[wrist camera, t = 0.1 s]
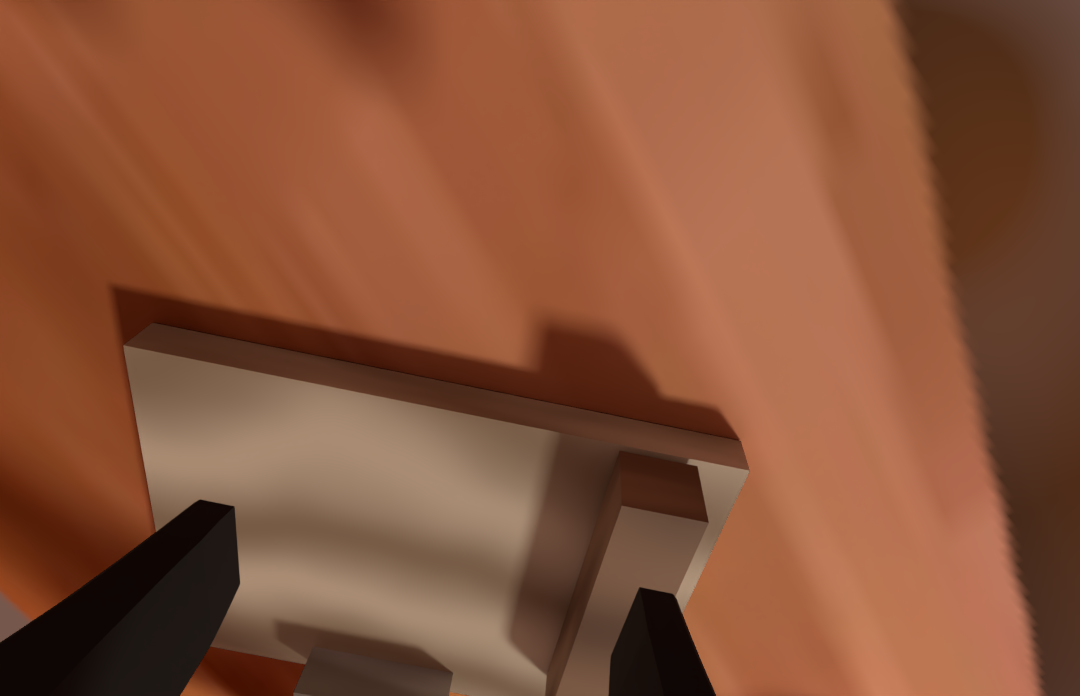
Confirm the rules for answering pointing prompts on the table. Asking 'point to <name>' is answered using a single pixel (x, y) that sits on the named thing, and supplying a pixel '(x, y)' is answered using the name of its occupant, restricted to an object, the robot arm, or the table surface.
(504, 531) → the stool seat
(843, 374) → the table surface
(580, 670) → the stool leg
